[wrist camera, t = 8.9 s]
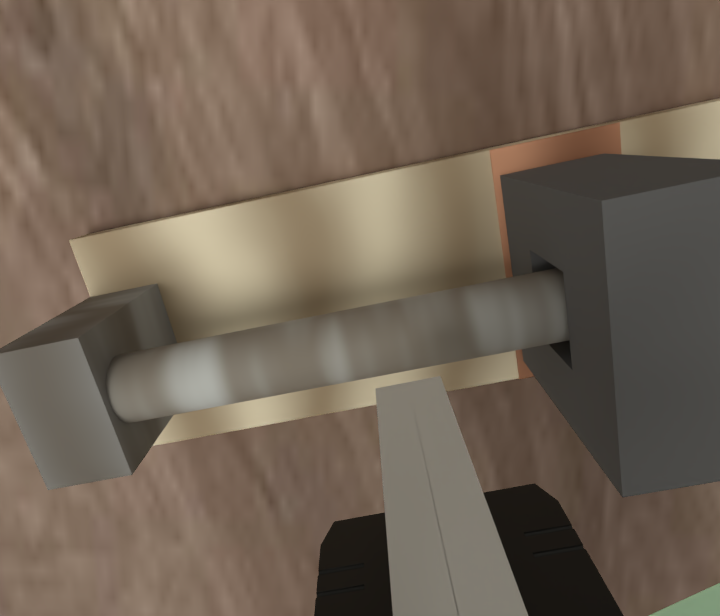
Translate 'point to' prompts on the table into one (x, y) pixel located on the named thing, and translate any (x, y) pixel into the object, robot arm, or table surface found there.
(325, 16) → the table surface
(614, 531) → the table surface
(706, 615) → the plant
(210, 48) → the table surface
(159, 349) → the grey sliding block rail
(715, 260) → the collar
